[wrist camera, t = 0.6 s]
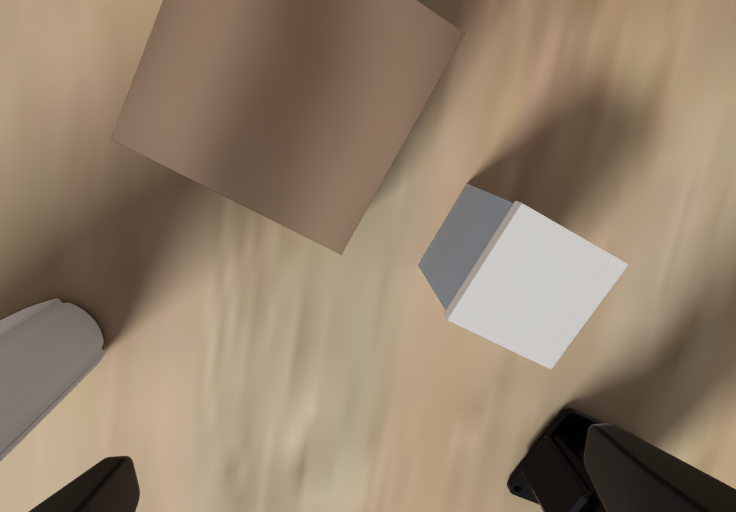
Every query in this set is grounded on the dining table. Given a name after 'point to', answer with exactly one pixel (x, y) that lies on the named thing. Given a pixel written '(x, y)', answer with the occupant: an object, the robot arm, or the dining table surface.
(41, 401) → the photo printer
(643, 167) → the dining table surface
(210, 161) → the walnut block
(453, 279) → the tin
